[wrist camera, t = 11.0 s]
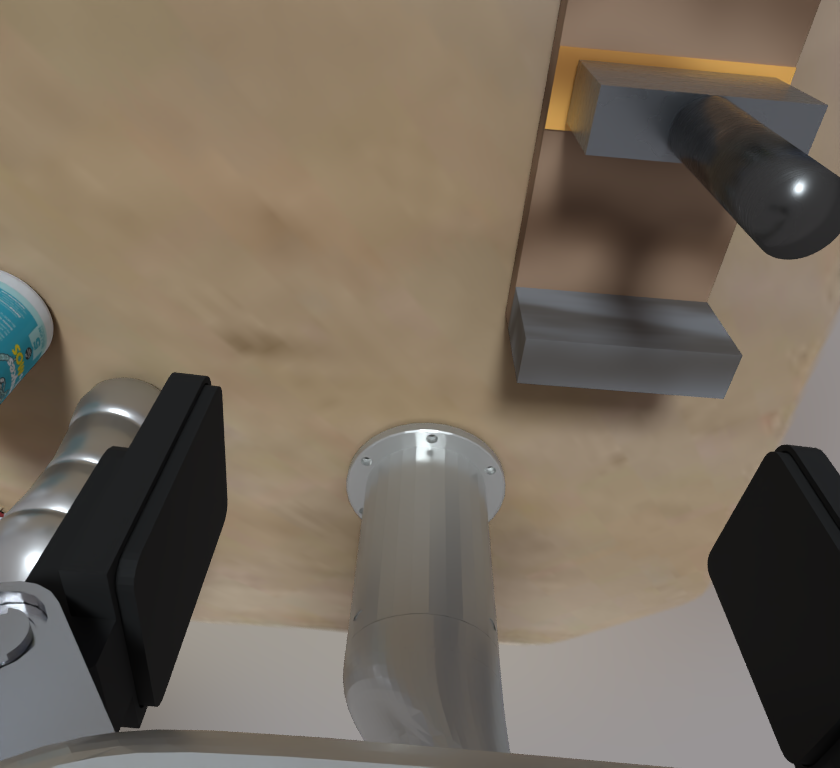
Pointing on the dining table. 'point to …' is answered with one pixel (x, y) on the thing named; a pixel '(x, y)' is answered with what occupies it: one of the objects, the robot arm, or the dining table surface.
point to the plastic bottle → (71, 469)
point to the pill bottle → (20, 331)
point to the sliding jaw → (718, 143)
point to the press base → (634, 209)
